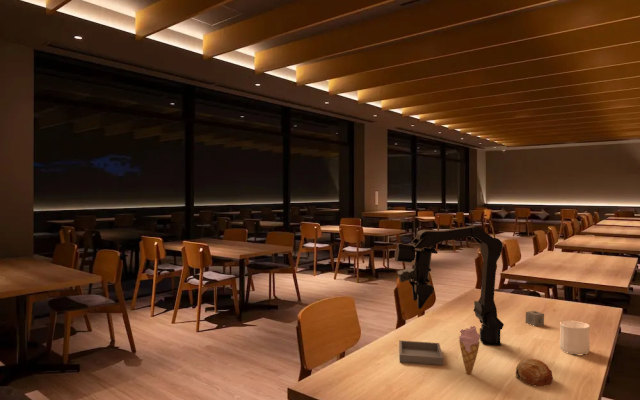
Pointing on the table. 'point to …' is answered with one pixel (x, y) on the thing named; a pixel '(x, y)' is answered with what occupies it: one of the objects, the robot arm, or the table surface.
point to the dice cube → (534, 318)
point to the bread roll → (534, 372)
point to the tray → (420, 352)
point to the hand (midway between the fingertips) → (417, 304)
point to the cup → (574, 337)
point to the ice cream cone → (469, 347)
